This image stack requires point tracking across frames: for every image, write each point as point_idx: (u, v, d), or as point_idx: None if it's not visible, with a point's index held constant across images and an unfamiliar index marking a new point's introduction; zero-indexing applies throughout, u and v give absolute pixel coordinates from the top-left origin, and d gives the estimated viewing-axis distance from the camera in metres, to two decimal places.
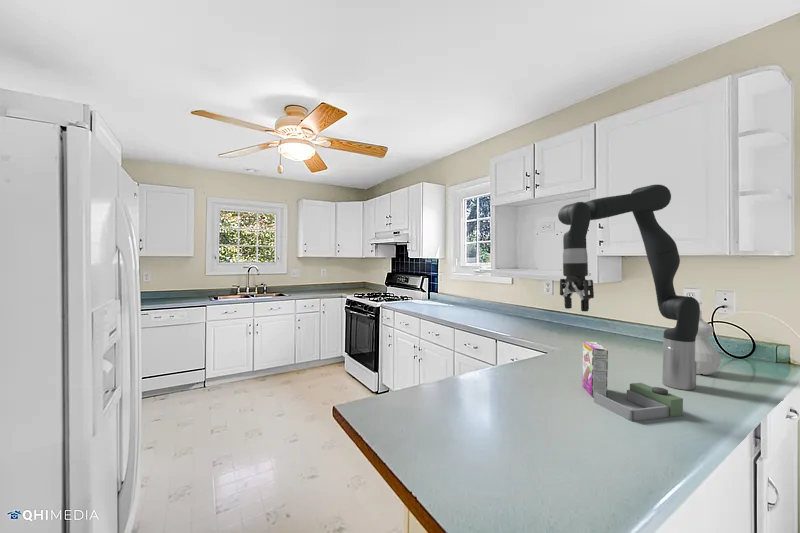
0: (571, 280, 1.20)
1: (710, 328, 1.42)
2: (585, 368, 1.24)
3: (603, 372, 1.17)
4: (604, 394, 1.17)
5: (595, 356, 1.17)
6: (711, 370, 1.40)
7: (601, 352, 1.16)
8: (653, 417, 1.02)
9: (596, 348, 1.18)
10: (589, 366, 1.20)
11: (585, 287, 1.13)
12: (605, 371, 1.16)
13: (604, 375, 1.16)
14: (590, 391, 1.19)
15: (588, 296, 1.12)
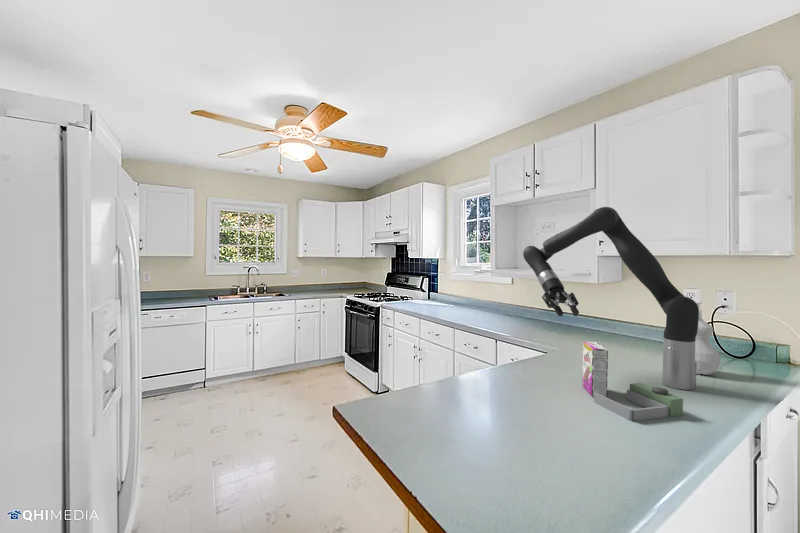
0: None
1: (710, 328, 1.42)
2: (585, 368, 1.24)
3: (603, 372, 1.17)
4: (604, 394, 1.17)
5: (595, 356, 1.17)
6: (711, 370, 1.40)
7: (601, 352, 1.16)
8: (653, 417, 1.02)
9: (596, 348, 1.18)
10: (589, 366, 1.20)
11: None
12: (605, 371, 1.16)
13: (604, 375, 1.16)
14: (590, 391, 1.19)
15: (548, 305, 1.39)
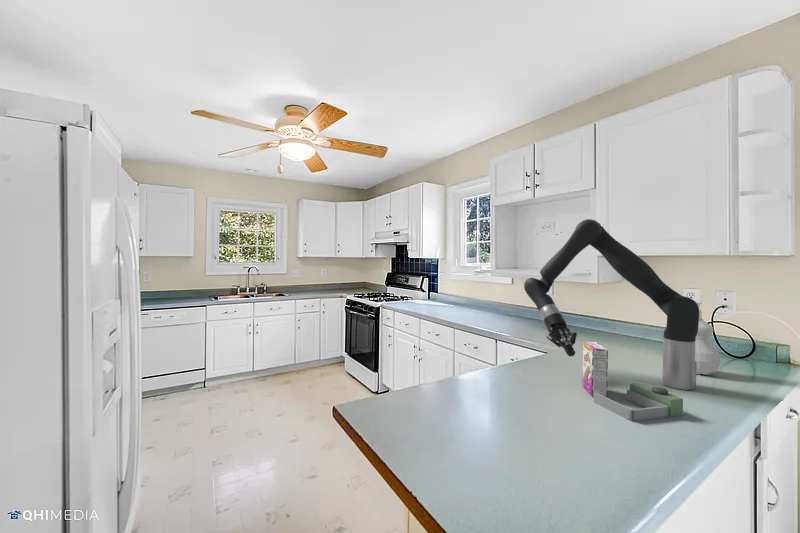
0: None
1: (710, 328, 1.42)
2: (585, 368, 1.24)
3: (603, 372, 1.17)
4: (604, 394, 1.17)
5: (595, 356, 1.17)
6: (711, 370, 1.40)
7: (601, 352, 1.16)
8: (653, 417, 1.02)
9: (596, 348, 1.18)
10: (589, 366, 1.20)
11: None
12: (605, 371, 1.16)
13: (604, 375, 1.16)
14: (590, 391, 1.19)
15: (558, 344, 1.36)
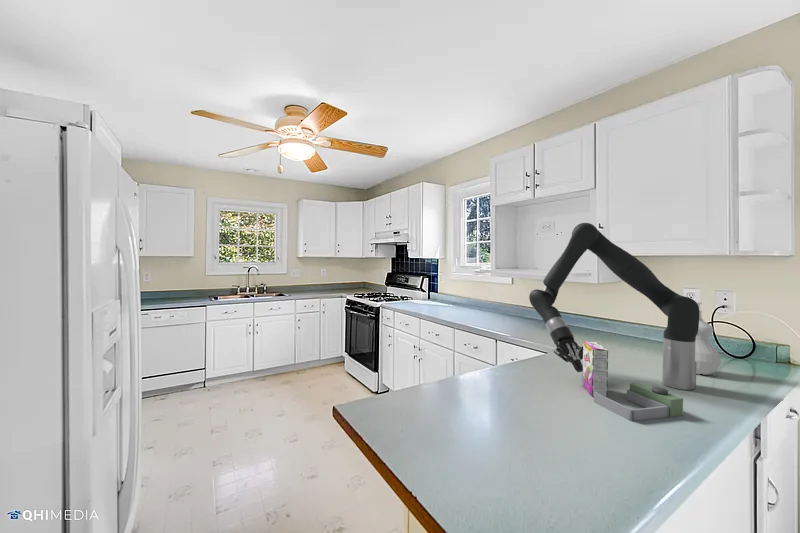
0: None
1: (710, 328, 1.42)
2: (585, 368, 1.24)
3: (603, 372, 1.16)
4: (604, 394, 1.16)
5: (595, 356, 1.17)
6: (711, 370, 1.40)
7: (601, 352, 1.16)
8: (653, 417, 1.02)
9: (596, 348, 1.18)
10: (589, 366, 1.20)
11: None
12: (605, 371, 1.16)
13: (604, 375, 1.16)
14: (590, 391, 1.19)
15: (565, 360, 1.31)
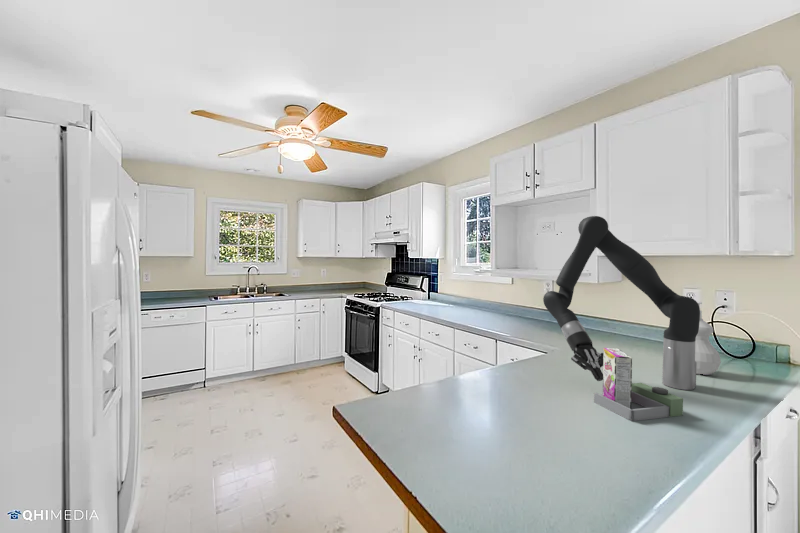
0: None
1: (710, 328, 1.42)
2: (606, 377, 1.15)
3: (626, 381, 1.07)
4: (628, 406, 1.07)
5: (618, 364, 1.08)
6: (711, 370, 1.40)
7: (624, 360, 1.07)
8: (653, 417, 1.02)
9: (619, 355, 1.09)
10: (611, 375, 1.11)
11: None
12: (629, 381, 1.07)
13: (627, 385, 1.07)
14: None
15: (584, 367, 1.22)
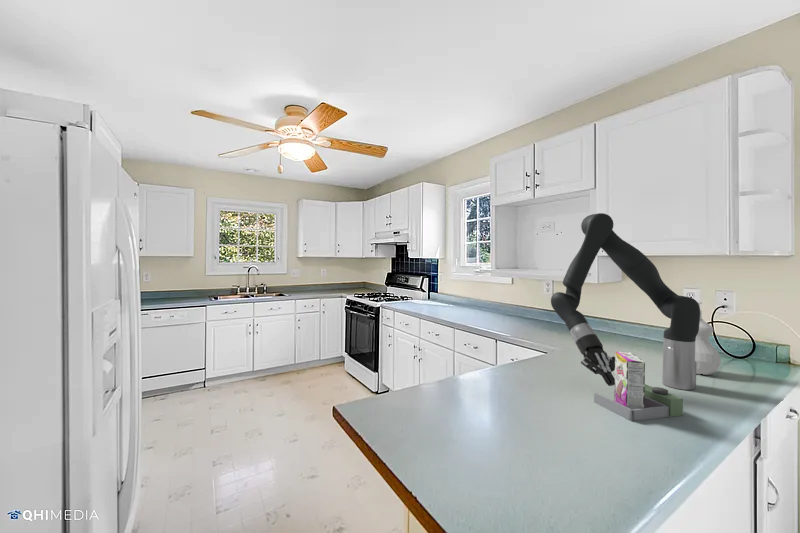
0: None
1: (710, 328, 1.42)
2: (618, 382, 1.10)
3: (639, 387, 1.03)
4: None
5: (630, 369, 1.03)
6: (711, 370, 1.40)
7: (637, 365, 1.03)
8: (653, 417, 1.02)
9: (631, 360, 1.04)
10: (623, 380, 1.06)
11: None
12: (642, 386, 1.02)
13: (640, 391, 1.03)
14: None
15: (595, 371, 1.18)
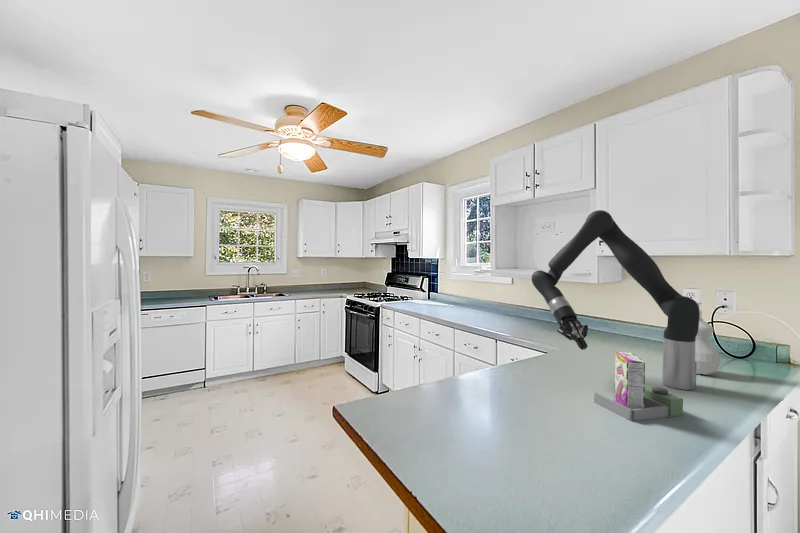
0: None
1: (710, 328, 1.42)
2: (618, 382, 1.10)
3: (639, 387, 1.03)
4: None
5: (630, 369, 1.03)
6: (711, 370, 1.40)
7: (637, 365, 1.03)
8: (653, 417, 1.02)
9: (631, 360, 1.04)
10: (623, 380, 1.06)
11: None
12: (642, 386, 1.02)
13: (640, 391, 1.03)
14: None
15: (569, 338, 1.32)
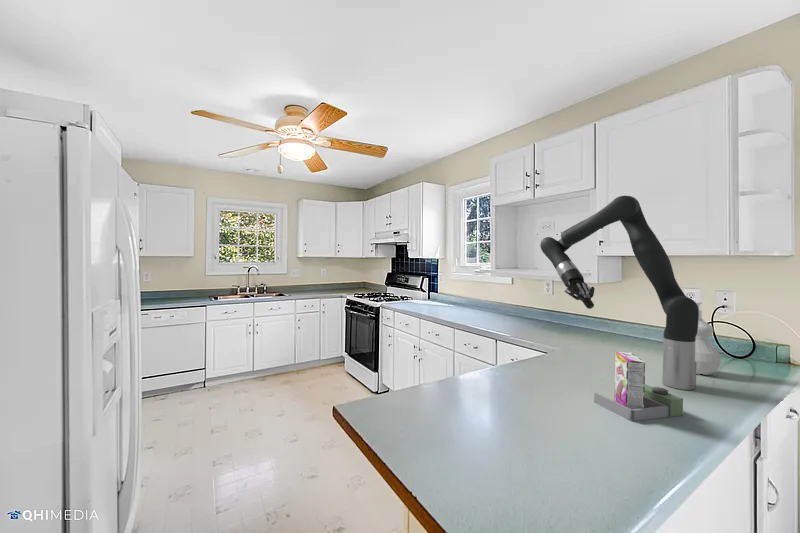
0: None
1: (710, 328, 1.42)
2: (618, 382, 1.10)
3: (639, 387, 1.03)
4: None
5: (630, 369, 1.03)
6: (711, 370, 1.40)
7: (637, 365, 1.03)
8: (653, 417, 1.02)
9: (631, 360, 1.04)
10: (623, 380, 1.06)
11: None
12: (642, 386, 1.02)
13: (640, 391, 1.03)
14: None
15: (576, 298, 1.37)
